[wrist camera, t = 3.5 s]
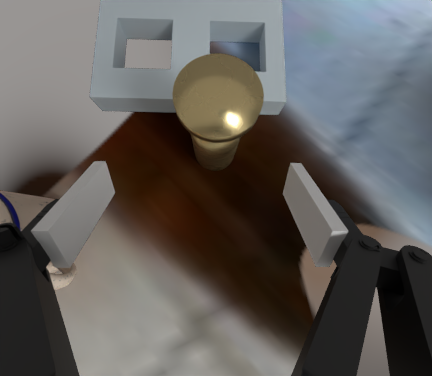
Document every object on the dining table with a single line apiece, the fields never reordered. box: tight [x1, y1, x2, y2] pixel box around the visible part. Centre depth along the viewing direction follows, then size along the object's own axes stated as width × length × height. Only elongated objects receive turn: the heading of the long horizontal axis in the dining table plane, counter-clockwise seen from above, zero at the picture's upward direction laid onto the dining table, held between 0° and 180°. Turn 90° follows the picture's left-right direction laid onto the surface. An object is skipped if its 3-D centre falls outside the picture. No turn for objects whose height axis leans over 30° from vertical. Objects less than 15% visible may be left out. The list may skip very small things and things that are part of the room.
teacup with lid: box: [0, 190, 77, 290], centre depth 19 cm, size 12×9×12 cm
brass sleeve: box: [172, 53, 264, 171], centre depth 21 cm, size 6×6×12 cm
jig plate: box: [90, 0, 286, 115], centre depth 27 cm, size 22×14×3 cm, turn 89°
